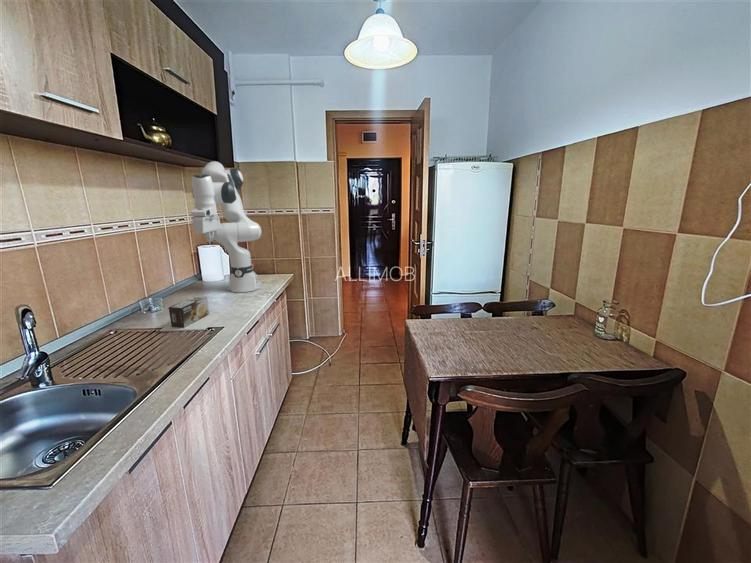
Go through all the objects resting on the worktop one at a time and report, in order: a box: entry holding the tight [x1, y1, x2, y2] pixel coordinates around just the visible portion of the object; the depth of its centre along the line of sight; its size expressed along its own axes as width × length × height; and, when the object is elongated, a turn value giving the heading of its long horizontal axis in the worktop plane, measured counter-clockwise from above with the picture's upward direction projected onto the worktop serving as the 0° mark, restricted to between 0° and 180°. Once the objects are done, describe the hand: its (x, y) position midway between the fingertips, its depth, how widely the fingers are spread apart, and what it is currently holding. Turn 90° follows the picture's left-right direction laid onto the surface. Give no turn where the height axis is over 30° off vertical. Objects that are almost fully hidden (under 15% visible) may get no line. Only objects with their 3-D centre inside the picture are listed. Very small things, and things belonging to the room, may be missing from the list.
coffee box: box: [168, 295, 210, 328], centre depth 146 cm, size 9×6×16 cm
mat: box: [159, 314, 221, 332], centre depth 146 cm, size 16×18×1 cm
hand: (210, 241), depth 157 cm, fingers closed
